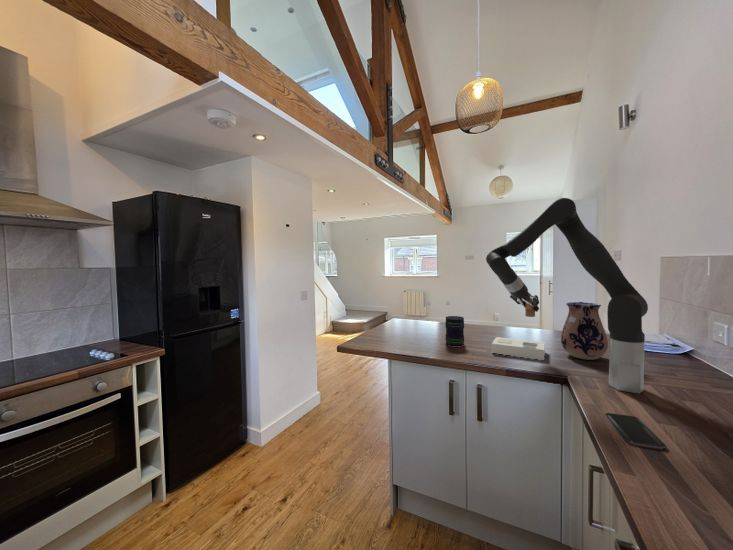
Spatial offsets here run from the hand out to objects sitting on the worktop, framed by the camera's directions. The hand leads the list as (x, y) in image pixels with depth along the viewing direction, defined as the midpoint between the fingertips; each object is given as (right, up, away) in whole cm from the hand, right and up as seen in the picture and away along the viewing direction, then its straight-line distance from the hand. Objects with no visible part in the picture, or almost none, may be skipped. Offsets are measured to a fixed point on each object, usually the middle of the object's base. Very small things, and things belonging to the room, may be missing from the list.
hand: (533, 309), depth 142 cm
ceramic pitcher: (+21, -22, -3) cm, 31 cm away
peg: (-2, -3, -1) cm, 4 cm away
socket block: (-6, -22, +3) cm, 23 cm away
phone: (-9, -26, -63) cm, 69 cm away
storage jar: (-32, -22, +19) cm, 43 cm away
